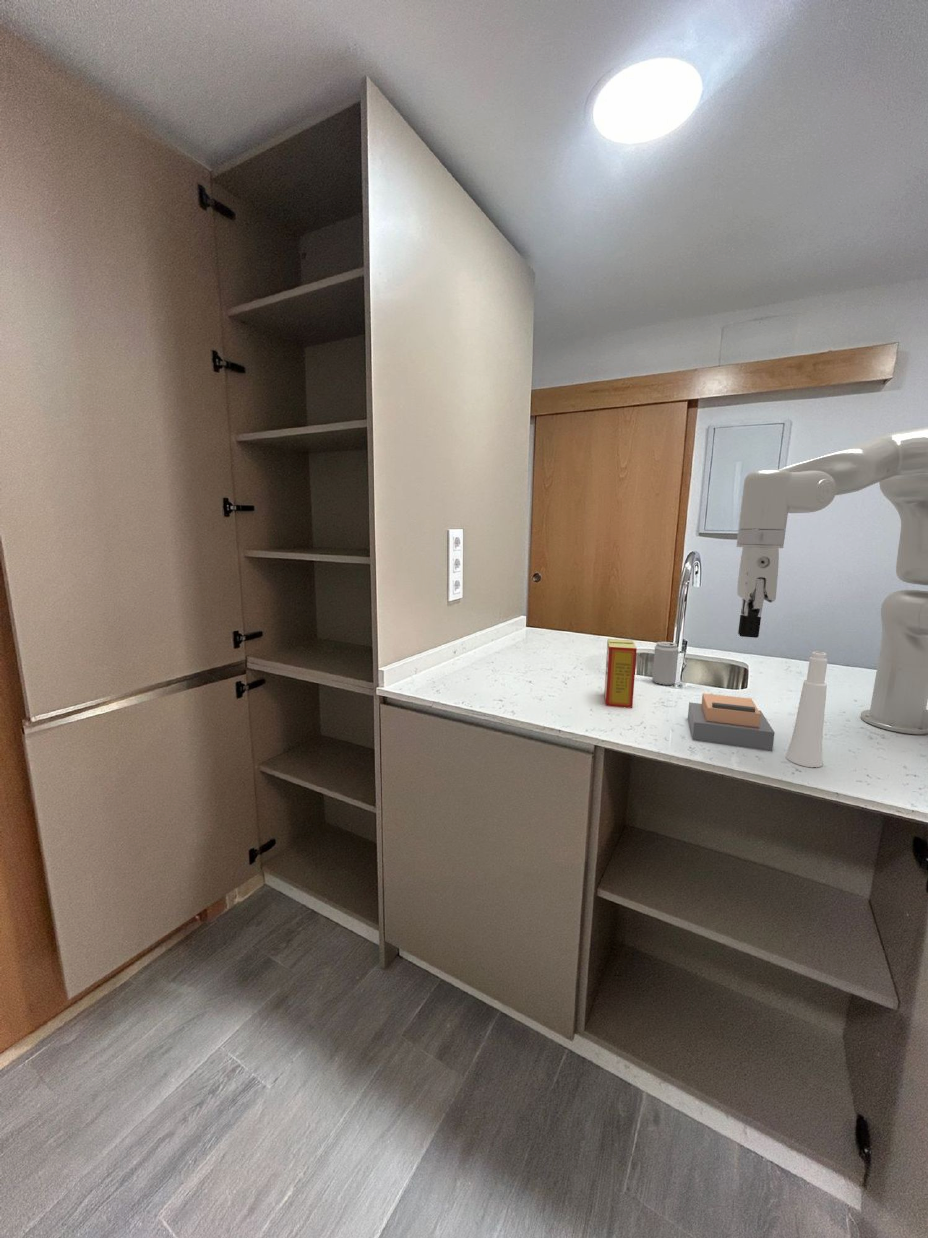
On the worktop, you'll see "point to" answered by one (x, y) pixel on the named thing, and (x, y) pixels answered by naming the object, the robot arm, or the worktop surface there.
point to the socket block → (729, 731)
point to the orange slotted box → (730, 710)
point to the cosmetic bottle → (810, 716)
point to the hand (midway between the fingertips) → (748, 636)
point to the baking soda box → (620, 673)
